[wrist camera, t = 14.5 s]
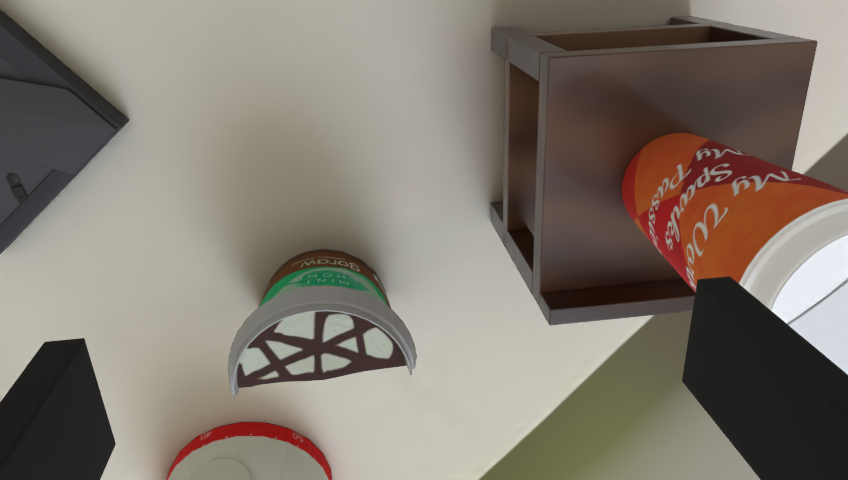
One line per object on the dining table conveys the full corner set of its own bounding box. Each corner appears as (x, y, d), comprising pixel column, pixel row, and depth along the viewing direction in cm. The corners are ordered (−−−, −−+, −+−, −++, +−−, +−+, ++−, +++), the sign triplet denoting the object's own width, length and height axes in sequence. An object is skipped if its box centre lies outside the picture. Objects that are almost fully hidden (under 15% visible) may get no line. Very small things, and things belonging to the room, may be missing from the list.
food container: (398, 225, 49) (412, 289, 39) (405, 298, 51) (420, 373, 42) (229, 245, 48) (204, 315, 38) (245, 317, 50) (225, 399, 41)
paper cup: (660, 84, 33) (863, 170, 20) (767, 153, 35) (1009, 270, 23) (572, 213, 35) (705, 362, 23) (678, 270, 38) (852, 434, 25)
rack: (490, 27, 44) (561, 63, 30) (691, 16, 45) (846, 46, 31) (490, 221, 49) (549, 326, 36) (668, 206, 51) (790, 301, 37)
